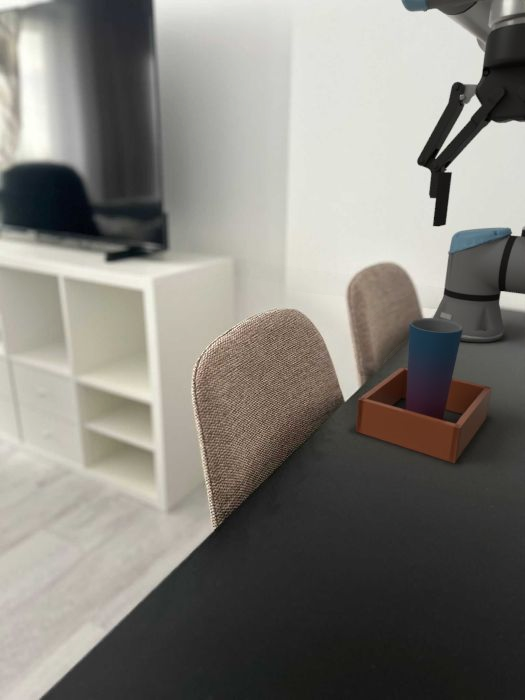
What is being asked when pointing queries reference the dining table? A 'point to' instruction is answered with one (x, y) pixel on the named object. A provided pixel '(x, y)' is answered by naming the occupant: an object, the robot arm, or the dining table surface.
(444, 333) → the cup
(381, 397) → the rectangular frame
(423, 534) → the dining table surface
